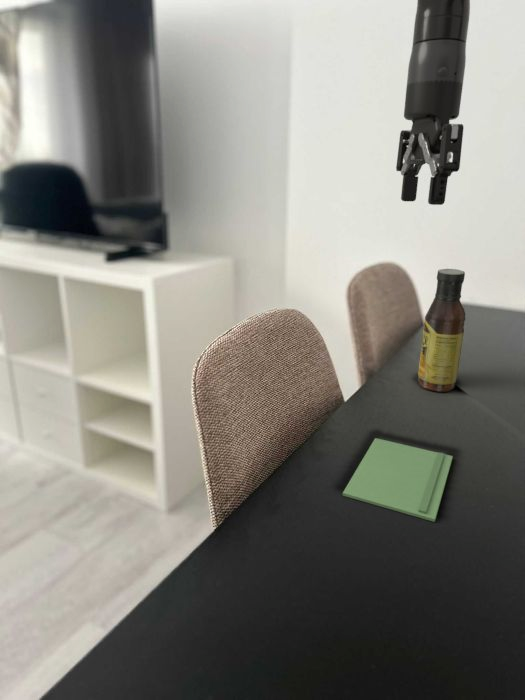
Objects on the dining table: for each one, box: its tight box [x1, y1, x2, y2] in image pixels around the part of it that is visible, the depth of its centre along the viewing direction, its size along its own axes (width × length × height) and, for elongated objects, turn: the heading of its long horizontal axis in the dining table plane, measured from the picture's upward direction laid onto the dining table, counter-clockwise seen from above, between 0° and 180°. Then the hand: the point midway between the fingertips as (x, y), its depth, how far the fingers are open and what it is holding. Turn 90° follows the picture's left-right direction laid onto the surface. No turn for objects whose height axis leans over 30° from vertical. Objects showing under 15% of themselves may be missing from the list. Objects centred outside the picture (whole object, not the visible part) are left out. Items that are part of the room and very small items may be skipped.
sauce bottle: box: [417, 268, 466, 393], centre depth 84 cm, size 6×6×20 cm
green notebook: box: [342, 437, 454, 523], centre depth 61 cm, size 14×10×1 cm
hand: (421, 202), depth 77 cm, fingers open, 8 cm apart
